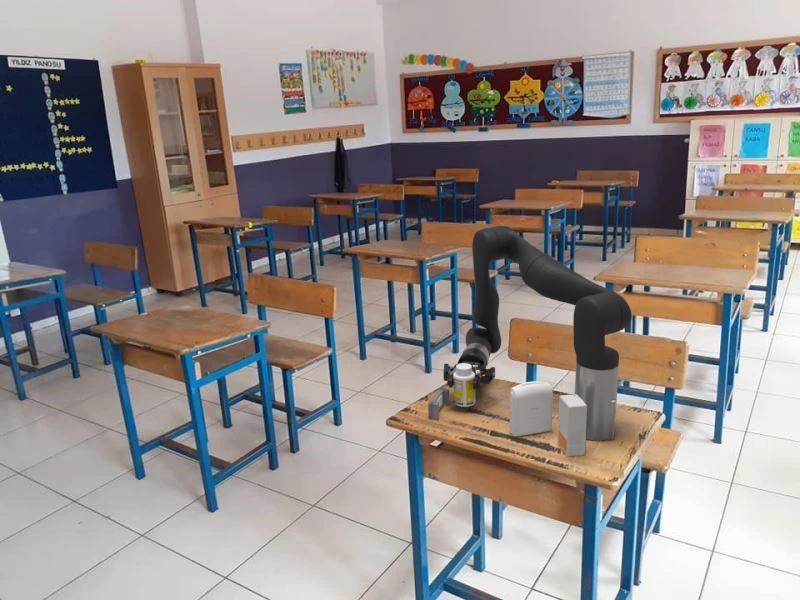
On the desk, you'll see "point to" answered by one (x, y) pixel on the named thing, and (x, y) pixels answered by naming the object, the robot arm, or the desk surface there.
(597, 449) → the desk surface
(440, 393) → the grey bridge block
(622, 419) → the desk surface
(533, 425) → the photo printer
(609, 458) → the desk surface
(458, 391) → the supplement bottle
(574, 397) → the skincare box
